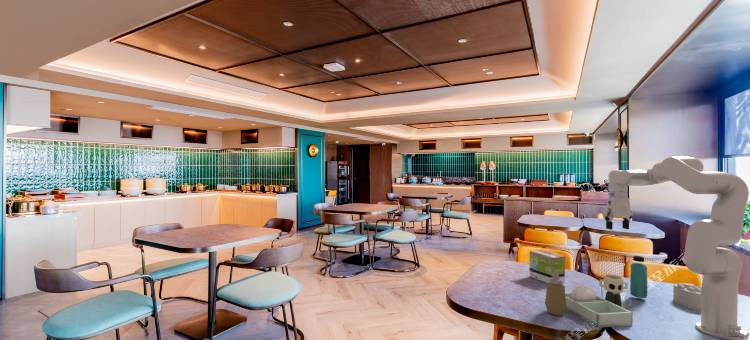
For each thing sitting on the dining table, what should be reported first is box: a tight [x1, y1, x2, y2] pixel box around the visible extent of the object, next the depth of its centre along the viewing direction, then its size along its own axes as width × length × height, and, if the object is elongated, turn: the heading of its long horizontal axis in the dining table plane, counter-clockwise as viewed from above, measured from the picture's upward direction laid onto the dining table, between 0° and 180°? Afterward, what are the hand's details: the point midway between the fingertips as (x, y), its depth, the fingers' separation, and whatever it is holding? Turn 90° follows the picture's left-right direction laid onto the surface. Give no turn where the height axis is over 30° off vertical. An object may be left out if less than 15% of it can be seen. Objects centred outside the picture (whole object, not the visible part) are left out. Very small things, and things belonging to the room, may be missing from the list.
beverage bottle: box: [629, 255, 649, 299], centre depth 160 cm, size 6×7×20 cm
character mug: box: [598, 273, 629, 307], centre depth 152 cm, size 11×7×13 cm, turn 74°
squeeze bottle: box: [544, 270, 567, 317], centre depth 143 cm, size 8×8×18 cm
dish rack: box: [565, 292, 634, 329], centre depth 142 cm, size 22×15×5 cm
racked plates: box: [571, 284, 597, 301], centre depth 148 cm, size 3×9×9 cm, turn 98°
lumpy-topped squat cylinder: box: [672, 282, 702, 311], centre depth 154 cm, size 10×13×9 cm
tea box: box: [528, 249, 566, 284], centre depth 186 cm, size 15×10×15 cm, turn 25°
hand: (617, 228), depth 172 cm, fingers open, 9 cm apart
